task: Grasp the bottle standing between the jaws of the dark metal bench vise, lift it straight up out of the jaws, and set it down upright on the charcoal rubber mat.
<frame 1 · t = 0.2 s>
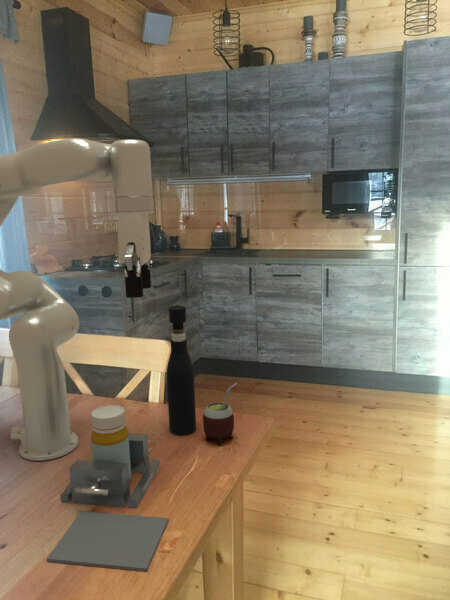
hand: (139, 292, 100), 36 cm above the table, tool pointing down, fingers open, 9 cm apart
mate gourd: (221, 440, 114), on the table
bottle: (113, 483, 97), resting in vise
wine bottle: (182, 430, 119), on the table
vise: (113, 482, 97), on the table
mat: (111, 539, 81), on the table
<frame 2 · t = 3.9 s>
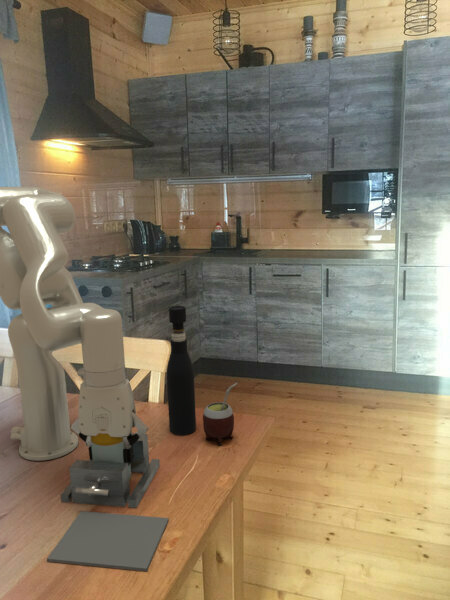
hand: (112, 462, 97), 4 cm above the table, tool pointing down, fingers closed on bottle, 5 cm apart
bottle: (113, 483, 97), resting in vise, touching gripper
everything else where it was.
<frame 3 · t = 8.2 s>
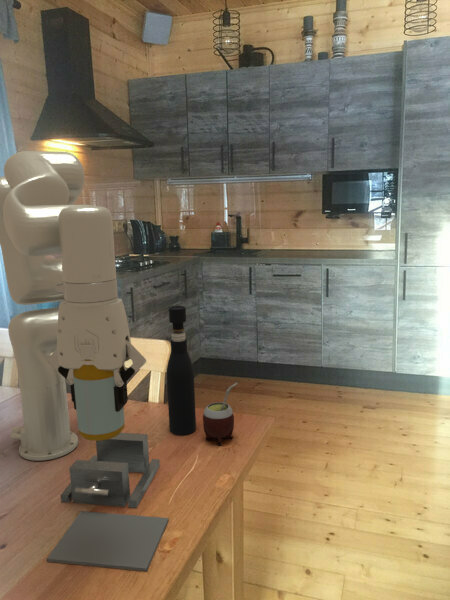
hand: (100, 406, 76), 23 cm above the table, tool pointing down, fingers closed on bottle, 5 cm apart
bottle: (102, 432, 77), point 19 cm above the table, touching gripper
everything else where it was.
when the fingers open (6 cm above the table, at t = 12.3 s): bottle drops 1 cm, resting on mat.
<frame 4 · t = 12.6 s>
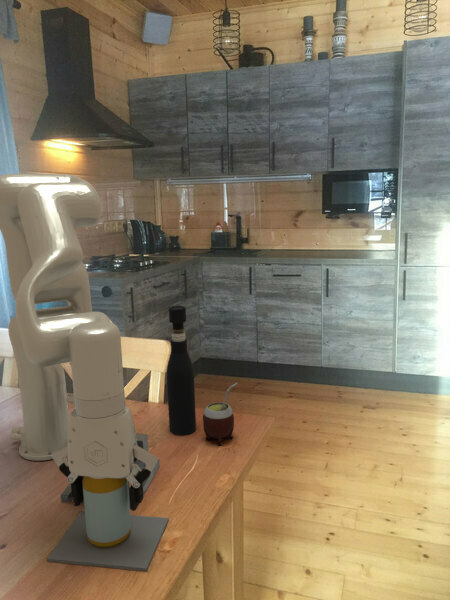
hand: (108, 503, 80), 7 cm above the table, tool pointing down, fingers open, 9 cm apart
bottle: (109, 536, 81), resting on mat
everything else where it was.
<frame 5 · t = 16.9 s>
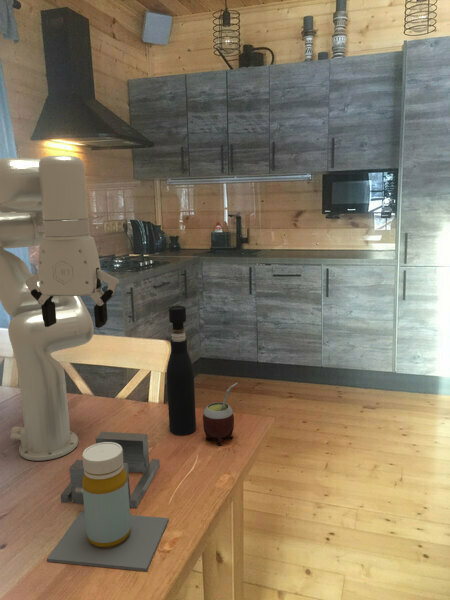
hand: (75, 325, 90), 32 cm above the table, tool pointing down, fingers open, 9 cm apart
nothing on the table moved.
at the end: bottle inside the target area on the mat (0.6 cm from its centre), point 0.3 cm above the mat's base; bottle tilted 0°; the gripper is holding nothing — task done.
